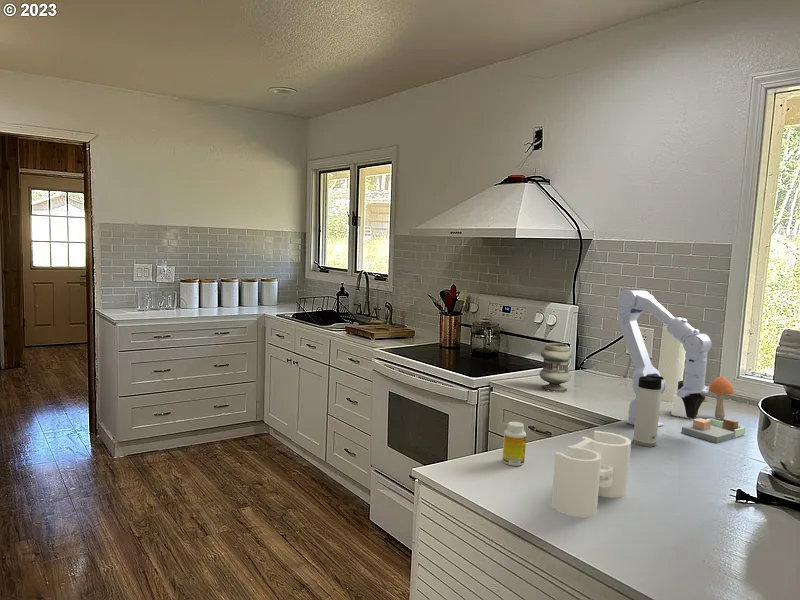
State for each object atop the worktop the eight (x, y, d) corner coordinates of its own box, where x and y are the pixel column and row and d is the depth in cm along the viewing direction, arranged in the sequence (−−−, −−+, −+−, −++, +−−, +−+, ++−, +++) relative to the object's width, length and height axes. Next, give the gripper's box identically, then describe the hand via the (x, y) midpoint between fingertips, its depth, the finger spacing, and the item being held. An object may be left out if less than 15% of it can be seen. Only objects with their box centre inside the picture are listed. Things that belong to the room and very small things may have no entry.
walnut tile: (734, 422, 188) (738, 421, 190) (723, 419, 191) (727, 418, 192) (733, 434, 189) (737, 433, 190) (722, 431, 191) (725, 430, 193)
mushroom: (704, 419, 206) (709, 376, 205) (705, 414, 213) (709, 372, 212) (731, 423, 203) (735, 379, 201) (730, 418, 210) (735, 375, 208)
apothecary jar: (532, 386, 243) (535, 342, 241) (556, 385, 248) (559, 341, 246) (551, 394, 232) (555, 347, 230) (576, 392, 237) (580, 346, 235)
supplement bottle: (525, 467, 152) (528, 427, 151) (503, 465, 153) (506, 426, 152) (522, 459, 158) (525, 421, 157) (501, 458, 158) (503, 419, 157)
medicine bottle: (693, 419, 206) (696, 384, 204) (671, 415, 210) (674, 381, 209) (697, 415, 211) (701, 381, 210) (676, 411, 216) (679, 378, 214)
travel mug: (659, 448, 173) (665, 379, 171) (635, 445, 174) (641, 377, 172) (654, 441, 179) (661, 374, 177) (631, 439, 180) (637, 372, 178)
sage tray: (735, 437, 187) (735, 430, 187) (700, 427, 196) (700, 420, 196) (744, 435, 190) (745, 427, 190) (709, 425, 199) (710, 418, 199)
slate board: (716, 443, 181) (717, 437, 180) (681, 432, 190) (682, 426, 189) (735, 437, 187) (735, 432, 187) (700, 427, 196) (700, 422, 196)
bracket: (589, 523, 123) (594, 465, 122) (545, 507, 129) (549, 452, 128) (633, 489, 142) (638, 439, 141) (593, 477, 148) (597, 429, 147)
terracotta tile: (703, 430, 187) (704, 422, 187) (692, 427, 190) (693, 419, 189) (710, 428, 189) (711, 421, 189) (699, 425, 192) (700, 418, 192)
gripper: (694, 378, 176) (690, 424, 177) (720, 374, 185) (716, 418, 186) (672, 373, 182) (668, 418, 183) (697, 370, 190) (693, 412, 192)
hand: (690, 417), depth 185 cm, fingers closed
